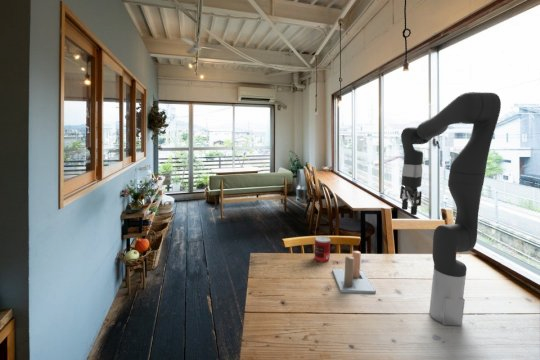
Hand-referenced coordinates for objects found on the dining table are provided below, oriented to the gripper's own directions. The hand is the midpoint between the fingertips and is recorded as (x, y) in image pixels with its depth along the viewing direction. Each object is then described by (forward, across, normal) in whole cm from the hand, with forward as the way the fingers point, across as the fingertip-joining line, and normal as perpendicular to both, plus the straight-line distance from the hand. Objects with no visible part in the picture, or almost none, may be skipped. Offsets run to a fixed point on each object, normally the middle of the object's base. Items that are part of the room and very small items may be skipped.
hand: (408, 212), depth 119 cm
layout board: (+30, +5, -24) cm, 39 cm away
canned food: (+30, -17, -34) cm, 49 cm away
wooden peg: (+30, +2, -22) cm, 37 cm away
